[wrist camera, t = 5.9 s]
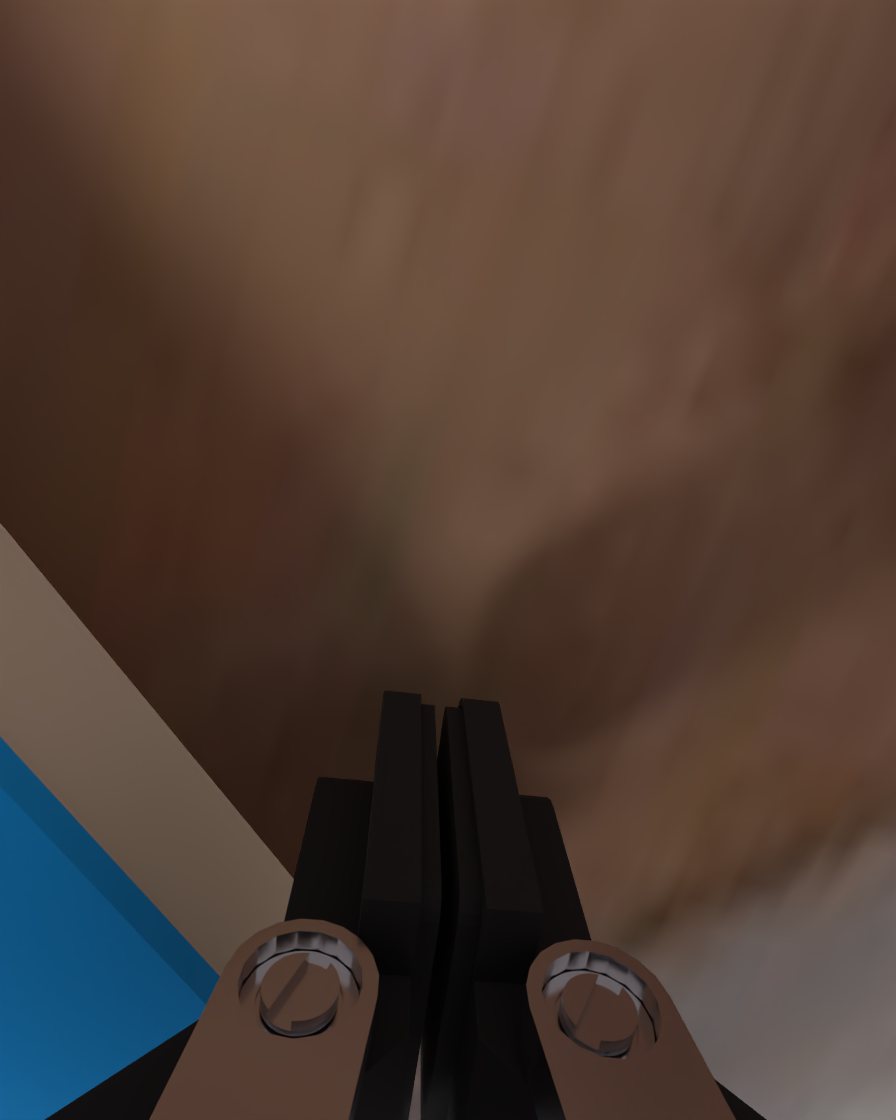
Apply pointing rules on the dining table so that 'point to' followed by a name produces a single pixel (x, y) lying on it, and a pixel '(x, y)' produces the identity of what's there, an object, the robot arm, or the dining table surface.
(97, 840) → the book
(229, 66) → the dining table surface
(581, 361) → the dining table surface
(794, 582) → the dining table surface
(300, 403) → the dining table surface
